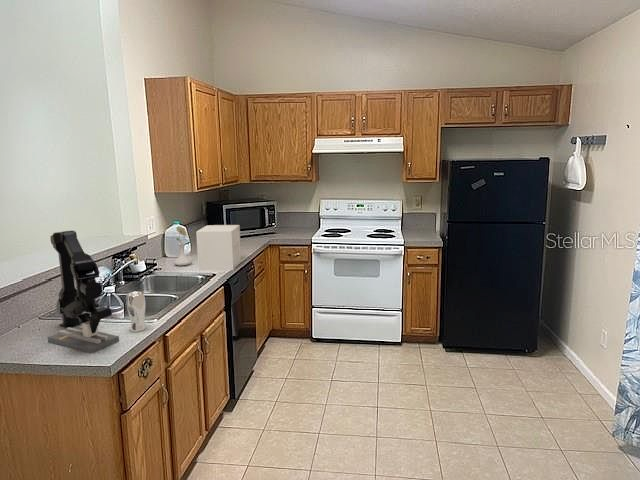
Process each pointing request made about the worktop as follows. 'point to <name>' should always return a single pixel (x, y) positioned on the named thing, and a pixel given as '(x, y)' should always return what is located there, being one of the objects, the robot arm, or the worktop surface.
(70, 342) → the fader console
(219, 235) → the cube
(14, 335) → the worktop surface
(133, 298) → the beer glass
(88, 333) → the fader knob
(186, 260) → the flower in vase
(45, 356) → the worktop surface
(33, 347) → the worktop surface
